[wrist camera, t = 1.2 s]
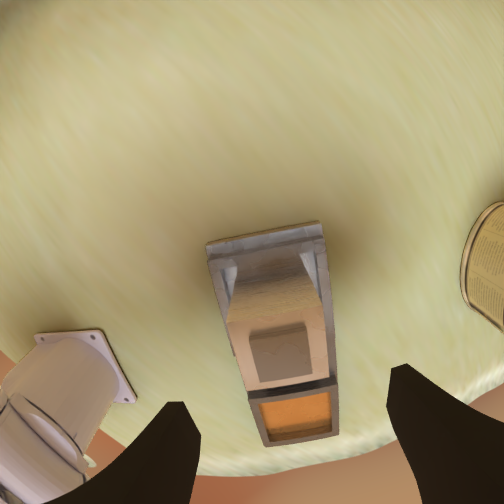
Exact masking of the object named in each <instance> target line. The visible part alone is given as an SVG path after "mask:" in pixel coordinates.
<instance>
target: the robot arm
mask: <svg viewBox="0 0 504 504" xmlns="http://www.w3.org/2000/svg"><path fill="white" fill-rule="evenodd" d="M93 335H94V336H95V337H94V336H93ZM34 339H35V341H36V343H37V345H36V346H35V347H34V348H33V349H32V350H31V351H30V352H29V353H28V354H27V355H26V356H25V357H24V358H23V359H22V360H21V361H19V362H18V363H17V364H16V365H15V366H14V367H13V368H12V369H11V370H10V371H9V372H8V373H7V375H6V376H5V378H4V380H3V383H2V386H1V389H0V504H189V502H190V498H191V494H192V489H193V485H194V480H195V476H196V472H197V467H198V462H199V457H200V444H201V434H200V432H199V430H198V429H197V427H196V425H195V423H194V421H193V419H192V417H191V416H190V414H189V412H188V410H187V408H186V406H185V404H184V402H183V401H182V402H167V403H166V404H165V405H164V407H163V408H162V409H161V410H160V411H159V413H158V414H157V415H156V416H155V417H154V418H153V420H152V421H151V422H150V423H149V424H148V425H147V427H146V428H145V429H144V430H143V431H142V432H141V433H140V434H139V436H138V437H137V438H136V439H135V440H134V441H133V442H132V443H131V444H130V445H129V446H128V447H127V448H126V449H125V450H124V451H123V453H121V454H120V455H119V456H118V457H117V458H116V459H115V460H114V461H113V462H112V463H111V464H109V465H108V466H107V467H106V468H105V469H103V470H102V471H101V472H99V473H98V474H97V475H95V476H94V477H93V478H91V479H90V478H89V476H88V475H87V474H86V473H85V471H86V469H87V467H88V465H89V463H88V462H87V461H86V460H85V459H84V458H83V456H84V454H85V452H86V450H87V448H88V446H89V444H90V442H91V440H92V438H93V437H94V434H95V433H96V431H97V429H98V428H99V426H100V424H101V422H102V420H103V418H104V417H105V415H106V413H107V411H108V409H109V408H110V406H111V404H112V402H117V403H136V401H137V398H136V396H135V394H134V393H133V391H132V389H131V387H130V385H129V384H128V382H127V380H126V378H125V376H124V375H123V373H122V371H121V369H120V367H119V365H118V363H117V361H116V359H115V357H114V355H113V353H112V351H111V349H110V347H109V345H108V343H107V341H106V339H105V336H104V334H103V333H102V332H101V331H100V330H87V331H73V332H56V333H37V334H35V335H34ZM386 408H387V411H388V414H389V417H390V420H391V424H392V427H393V429H394V432H395V434H396V436H397V438H398V440H399V443H400V445H401V447H402V449H403V451H404V453H405V456H406V458H407V460H408V462H409V464H410V466H411V469H412V471H413V473H414V476H415V478H416V481H417V485H418V488H419V492H420V496H421V499H422V504H504V423H503V422H501V421H498V420H496V419H493V418H491V417H489V416H487V415H485V414H482V413H480V412H478V411H476V410H475V409H473V408H471V407H469V406H468V405H466V404H464V403H463V402H461V401H459V400H458V399H456V398H455V397H453V396H452V395H450V394H449V393H447V392H446V391H444V390H443V389H441V388H440V387H438V386H437V385H436V384H434V383H433V382H432V381H430V380H429V379H427V378H426V377H425V376H423V375H422V374H421V373H419V372H418V371H417V370H415V369H414V368H413V367H411V366H410V365H409V364H407V363H406V364H403V365H400V366H397V367H394V368H391V375H390V383H389V391H388V398H387V404H386Z"/></svg>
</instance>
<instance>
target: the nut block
mask: <svg viewBox="0 0 504 504" xmlns="http://www.w3.org/2000/svg"><path fill="white" fill-rule="evenodd" d="M226 325H227V328H228V332H229V335H230V339H231V342H232V345H233V349H234V352H235V355H236V358H237V362H238V365H239V368H240V371H241V375H242V378H243V381H244V384H245V387H246V390H247V391H251V390H259V389H266V388H273V387H279V386H286V385H291V384H297V383H302V382H308V381H313V380H318V379H322V378H327V377H329V366H328V354H327V343H326V332H325V323H324V313H323V305H322V303H321V301H320V298H319V296H318V294H317V292H316V290H315V287H314V285H313V283H312V281H311V279H310V276H309V274H308V272H307V270H306V268H305V266H304V263H303V261H297V262H292V263H287V264H282V265H276V266H271V267H266V268H261V269H256V270H250V271H245V272H240V273H237V274H236V279H235V283H234V288H233V292H232V297H231V302H230V306H229V311H228V315H227V320H226Z"/></svg>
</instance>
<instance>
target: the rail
mask: <svg viewBox="0 0 504 504" xmlns="http://www.w3.org/2000/svg"><path fill="white" fill-rule="evenodd" d="M205 249H206V253H207V256H208V260H207V263H208V267H209V271H210V274H211V278H212V282H213V285H214V289H215V293H216V296H217V300H218V303H219V307H220V310H221V314H222V317H223V321H224V324H225V328H226V331H227V335H228V338H229V341H230V345H231V348H232V351H233V354H234V356H236V355H235V352H234V349H233V345H232V342H231V339H230V335H229V332H228V328H227V325H226V320H227V315H228V311H229V306H230V302H231V297H232V292H233V288H234V283H235V279H236V274H237V273H240V272H245V271H250V270H256V269H261V268H266V267H271V266H276V265H282V264H287V263H292V262H297V261H303V263H304V266H305V268H306V270H307V272H308V274H309V276H310V279H311V281H312V283H313V285H314V287H315V290H316V292H317V294H318V296H319V298H320V301H321V303H322V305H323V313H324V323H325V332H326V343H327V354H328V366H329V377H327V378H322V379H318V380H313V381H308V382H302V383H297V384H291V385H286V386H279V387H273V388H266V389H259V390H251V391H247V390H246V391H247V394H248V401H249V404H250V407H251V410H252V413H253V416H254V419H255V422H256V425H257V428H258V431H259V433H260V436H261V439H262V442H263V445H264V446H265V447H273V446H281V445H288V444H295V443H301V442H307V441H312V440H318V439H323V438H327V437H332V436H336V435H339V399H338V383H337V364H336V348H335V328H334V316H333V305H332V296H331V286H330V278H329V269H328V261H327V254H326V246H325V239H324V237H323V230H322V224H321V223H320V222H319V221H314V222H308V223H303V224H298V225H292V226H287V227H282V228H277V229H272V230H267V231H262V232H256V233H251V234H246V235H241V236H236V237H232V238H227V239H222V240H217V241H212V242H208V243H207V244H206V246H205ZM236 359H237V358H236ZM238 366H239V365H238ZM239 369H240V368H239ZM240 372H241V371H240ZM242 379H243V378H242ZM243 382H244V381H243ZM244 385H245V384H244ZM245 388H246V387H245Z"/></svg>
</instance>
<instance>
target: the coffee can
mask: <svg viewBox="0 0 504 504" xmlns="http://www.w3.org/2000/svg"><path fill="white" fill-rule="evenodd" d="M460 282H461V290H462V295H463V298H464V300H465V302H466V304H467V305H468V307H469V308H470V309H472V310H473V311H475V312H477V313H478V314H480V315H481V316H482V317H483V318H485V319H486V320H487V321H488V322H490V323H491V324H492V325H493V326H494V327H496V328H497V329H498V330H499V331H500V332H502V333H503V334H504V202H497V203H495V204H493V205H491V206H490V207H488V208H487V209H486V210H485V211H484V212H483V213H482V214H481V215H480V217H479V218H478V220H477V221H476V223H475V224H474V226H473V228H472V230H471V232H470V234H469V237H468V240H467V242H466V245H465V249H464V252H463V257H462V263H461V274H460Z"/></svg>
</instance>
